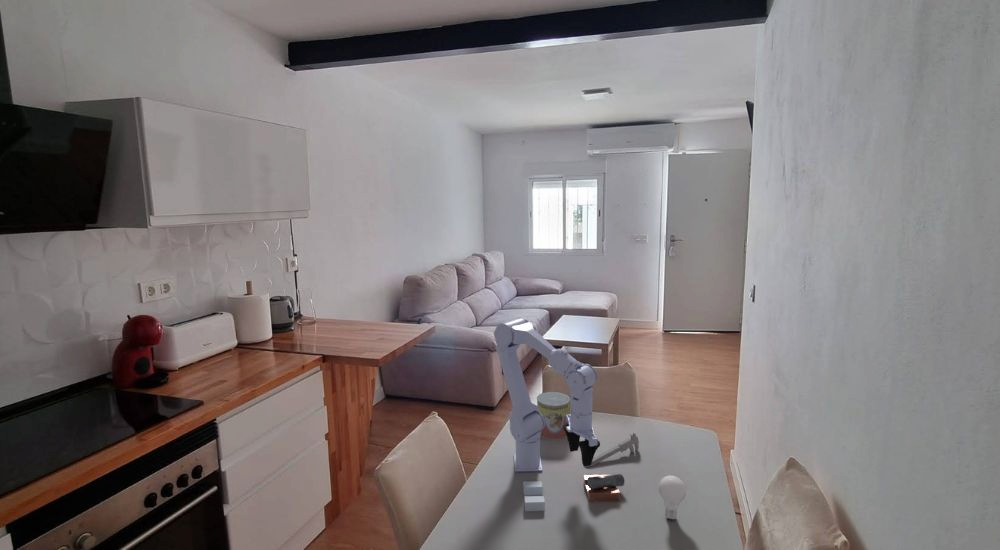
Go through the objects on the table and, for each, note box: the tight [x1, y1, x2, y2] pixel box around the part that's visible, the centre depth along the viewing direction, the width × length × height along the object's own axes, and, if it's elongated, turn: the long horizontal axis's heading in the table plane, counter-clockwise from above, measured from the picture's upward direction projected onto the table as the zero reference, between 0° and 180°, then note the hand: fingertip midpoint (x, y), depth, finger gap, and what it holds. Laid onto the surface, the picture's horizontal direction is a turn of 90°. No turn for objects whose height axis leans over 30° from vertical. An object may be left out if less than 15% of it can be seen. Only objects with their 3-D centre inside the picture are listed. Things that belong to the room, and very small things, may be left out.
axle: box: [587, 473, 625, 489], centre depth 129 cm, size 10×3×3 cm, turn 114°
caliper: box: [583, 432, 640, 469], centre depth 146 cm, size 20×1×6 cm, turn 117°
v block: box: [583, 474, 621, 503], centre depth 130 cm, size 8×8×2 cm
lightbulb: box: [658, 475, 687, 520], centre depth 118 cm, size 6×6×11 cm
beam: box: [522, 480, 546, 512], centre depth 127 cm, size 9×5×2 cm, turn 0°
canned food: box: [536, 391, 571, 441], centre depth 162 cm, size 11×11×12 cm
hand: (580, 457), depth 130 cm, fingers open, 7 cm apart
